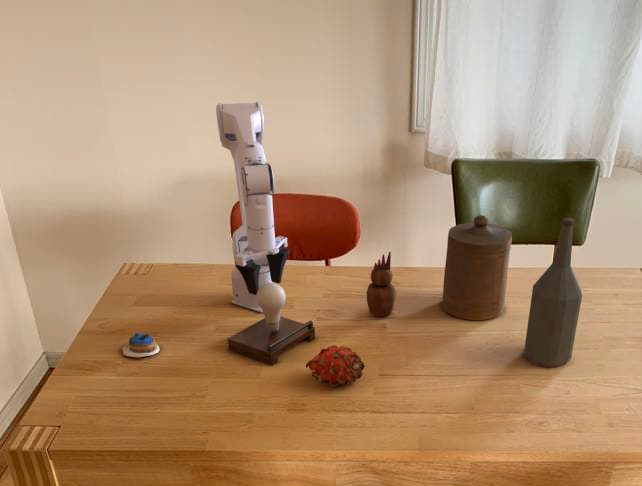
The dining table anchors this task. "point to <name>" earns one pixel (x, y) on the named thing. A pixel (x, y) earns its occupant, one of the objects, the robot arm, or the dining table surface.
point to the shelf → (270, 339)
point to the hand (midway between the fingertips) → (265, 287)
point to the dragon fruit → (337, 365)
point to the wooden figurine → (381, 289)
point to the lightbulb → (271, 304)
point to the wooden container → (476, 270)
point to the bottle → (554, 307)
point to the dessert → (140, 346)
